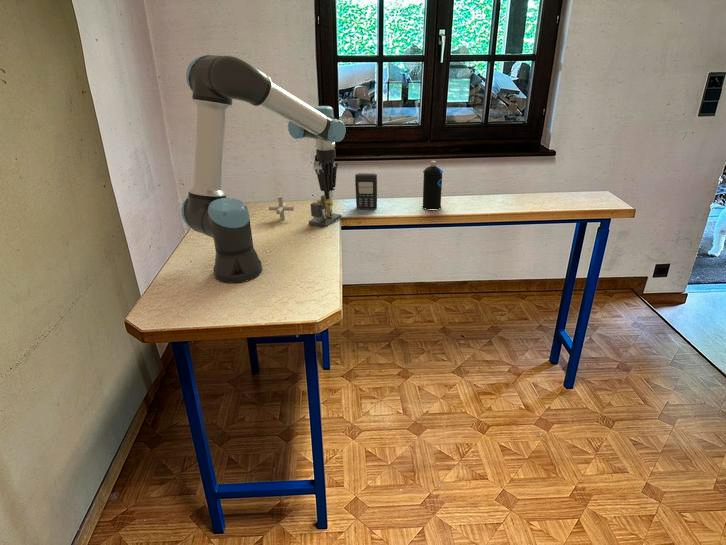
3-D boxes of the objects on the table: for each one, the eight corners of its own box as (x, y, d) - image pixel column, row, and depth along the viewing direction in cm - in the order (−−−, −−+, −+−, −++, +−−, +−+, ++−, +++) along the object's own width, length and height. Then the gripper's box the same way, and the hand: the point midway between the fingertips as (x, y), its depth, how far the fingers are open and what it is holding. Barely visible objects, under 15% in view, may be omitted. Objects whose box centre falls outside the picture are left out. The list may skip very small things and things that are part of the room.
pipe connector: (297, 215, 200) (295, 192, 196) (291, 224, 192) (289, 200, 187) (274, 215, 201) (271, 192, 197) (267, 224, 192) (264, 200, 188)
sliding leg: (329, 218, 191) (328, 198, 187) (317, 216, 193) (316, 196, 190) (334, 215, 194) (333, 196, 190) (322, 213, 196) (321, 194, 192)
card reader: (355, 209, 206) (354, 175, 199) (356, 206, 209) (355, 172, 202) (376, 209, 205) (376, 175, 198) (377, 206, 208) (377, 172, 201)
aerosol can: (422, 210, 202) (424, 163, 193) (421, 204, 209) (422, 159, 200) (442, 210, 202) (444, 163, 193) (440, 204, 209) (442, 158, 200)
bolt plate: (325, 227, 187) (323, 207, 183) (308, 224, 191) (307, 204, 187) (341, 218, 196) (340, 198, 193) (325, 215, 200) (324, 195, 196)
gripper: (324, 152, 178) (327, 212, 189) (342, 145, 188) (345, 202, 199) (307, 150, 182) (312, 209, 192) (327, 144, 192) (330, 200, 202)
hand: (329, 206), depth 195 cm, fingers closed
